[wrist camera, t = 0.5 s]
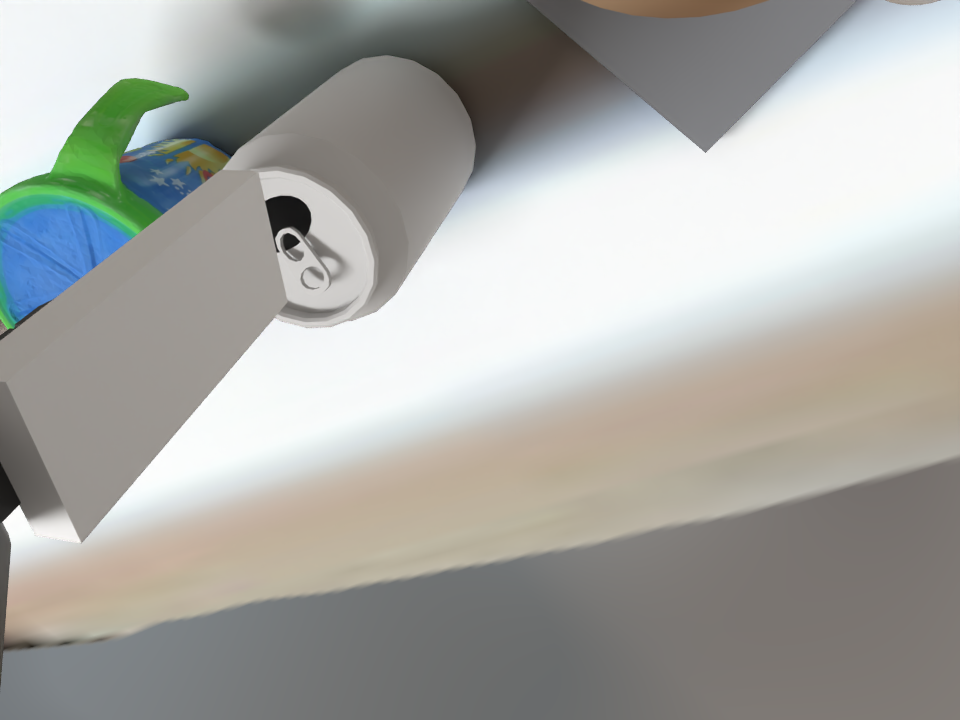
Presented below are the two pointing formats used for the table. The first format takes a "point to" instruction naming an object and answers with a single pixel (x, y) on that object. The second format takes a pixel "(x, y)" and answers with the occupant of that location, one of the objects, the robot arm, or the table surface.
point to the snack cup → (94, 196)
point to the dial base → (698, 55)
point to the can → (359, 184)
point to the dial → (692, 6)
